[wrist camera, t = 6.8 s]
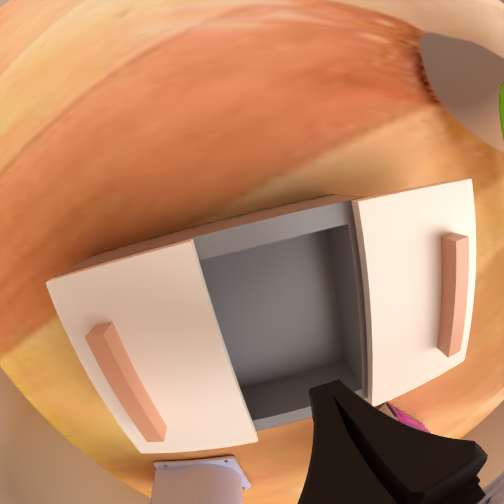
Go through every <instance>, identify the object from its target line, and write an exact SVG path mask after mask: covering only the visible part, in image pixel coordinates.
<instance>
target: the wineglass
mask: <svg viewBox="0 0 504 504" xmlns="http://www.w3.org/2000/svg"><path fill="white" fill-rule="evenodd" d="M499 112H500V120H501V128H502V133H503V138H504V82H503V84H502V85H501V90H500V95H499Z"/></svg>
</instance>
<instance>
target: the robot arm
mask: <svg viewBox="0 0 504 504" xmlns="http://www.w3.org/2000/svg"><path fill="white" fill-rule="evenodd" d="M309 397H310V404H311V411H312V418H313V421H314V435H313V446H312V454H311V460H310V465H309V469H308V473H307V477H306V481H305V484H304V487H303V490H302V493H301V496H300V499H299V501H298V504H504V472H503V473H502V474H500V475H499V476H498V477H497V478H496V479H495V480H493V481H492V482H491V483H490V484H489V485H487V486H486V487H485V488H483V489H481V487H480V486H479V485H478V483H479V482H480V479H479V478H478V477H477V474H478V472H479V471H480V469H481V468H482V467H483V465H484V464H485V462H486V460H487V456H488V455H487V454H486V453H485V451H484V450H483V449H482V448H481V447H480V446H479V445H478V444H477V443H476V442H474V441H469V440H459V439H452V438H447V437H442V436H438V435H434V434H431V433H428V432H424V431H421V430H418V429H416V428H413V427H411V426H408V425H406V424H404V423H402V422H400V421H398V420H396V419H394V418H392V417H390V416H388V415H387V414H385V413H383V412H382V411H380V410H378V409H377V408H375V407H374V406H372V405H371V404H370V403H368V402H367V401H365V400H364V399H363V398H361V397H360V396H359V395H358V394H356V393H355V392H354V391H353V390H351V389H350V388H349V387H348V386H347V385H346V384H345V383H343V382H342V381H341V380H339V379H338V380H335V381H332V382H329V383H326V384H322V385H319V386H316V387H312V388H310V389H309ZM153 466H154V467H155V468H156V472H155V478H154V483H153V489H152V495H151V501H150V504H244V502H243V491H242V490H244V489H249V488H251V484H250V482H249V481H248V479H247V477H246V476H245V474H244V472H243V470H242V469H241V467H240V465H239V463H238V462H237V460H236V458H235V457H234V456H225V457H217V458H209V459H198V460H186V461H165V462H154V464H153Z"/></svg>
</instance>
